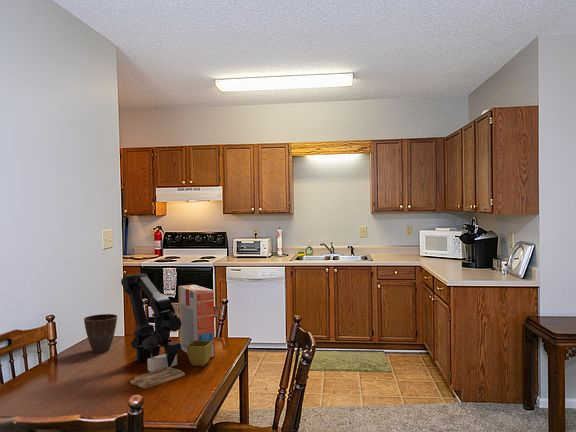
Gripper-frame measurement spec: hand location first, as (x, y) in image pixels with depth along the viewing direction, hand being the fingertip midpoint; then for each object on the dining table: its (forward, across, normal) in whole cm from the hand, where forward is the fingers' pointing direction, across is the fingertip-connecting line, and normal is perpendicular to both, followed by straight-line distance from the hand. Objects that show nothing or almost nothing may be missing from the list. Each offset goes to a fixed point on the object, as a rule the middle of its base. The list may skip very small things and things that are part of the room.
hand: (162, 364), depth 198 cm
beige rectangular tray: (+1, +10, -10) cm, 15 cm away
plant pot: (+1, -46, -1) cm, 46 cm away
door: (+1, 0, 0) cm, 1 cm away
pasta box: (+1, -5, +23) cm, 24 cm away
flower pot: (+1, +10, +12) cm, 16 cm away
